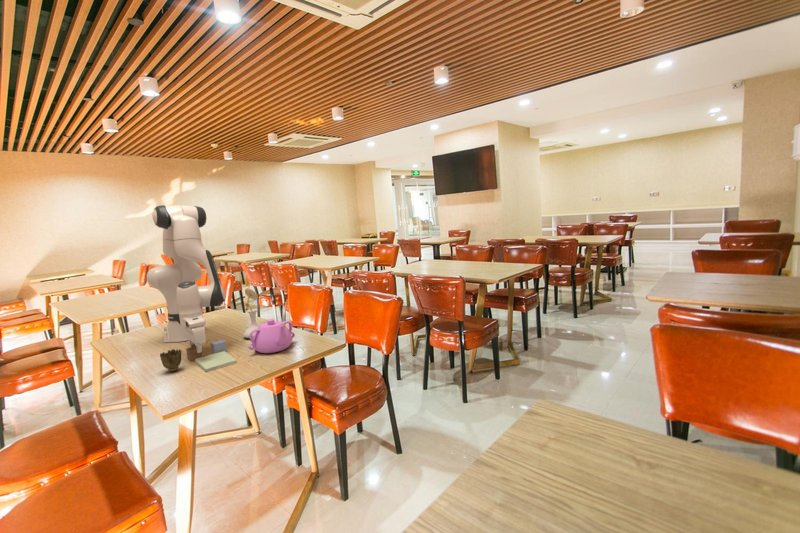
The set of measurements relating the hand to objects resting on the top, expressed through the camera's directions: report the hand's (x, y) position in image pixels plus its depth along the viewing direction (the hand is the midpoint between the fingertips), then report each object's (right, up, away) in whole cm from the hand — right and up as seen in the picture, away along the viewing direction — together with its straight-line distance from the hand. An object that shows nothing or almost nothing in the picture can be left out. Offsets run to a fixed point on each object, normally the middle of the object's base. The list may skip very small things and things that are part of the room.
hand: (196, 350), depth 163 cm
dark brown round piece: (-3, -6, -12) cm, 14 cm away
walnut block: (-1, -4, +1) cm, 4 cm away
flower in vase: (+15, +1, +28) cm, 31 cm away
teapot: (+33, -2, +6) cm, 33 cm away
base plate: (+11, -4, -5) cm, 13 cm away
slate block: (+7, -3, +7) cm, 10 cm away
